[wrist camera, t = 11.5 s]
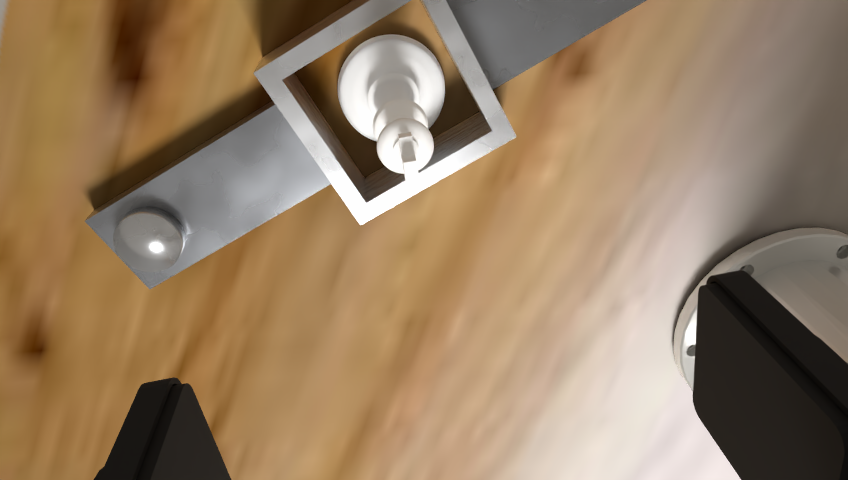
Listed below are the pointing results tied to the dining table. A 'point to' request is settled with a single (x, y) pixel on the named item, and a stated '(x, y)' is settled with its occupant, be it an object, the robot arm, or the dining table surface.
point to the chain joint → (331, 133)
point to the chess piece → (394, 99)
